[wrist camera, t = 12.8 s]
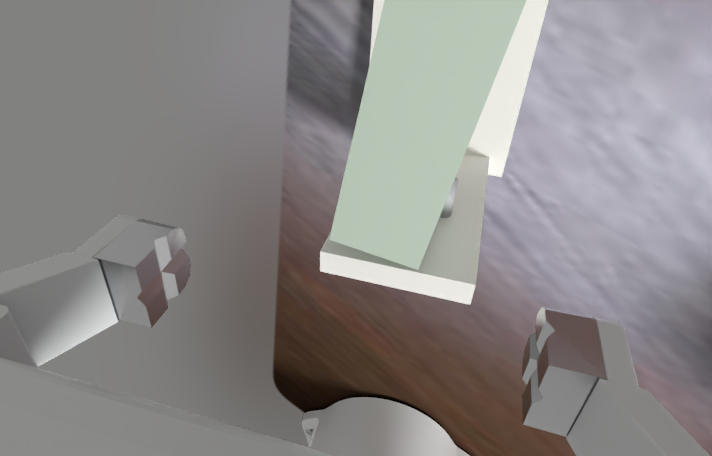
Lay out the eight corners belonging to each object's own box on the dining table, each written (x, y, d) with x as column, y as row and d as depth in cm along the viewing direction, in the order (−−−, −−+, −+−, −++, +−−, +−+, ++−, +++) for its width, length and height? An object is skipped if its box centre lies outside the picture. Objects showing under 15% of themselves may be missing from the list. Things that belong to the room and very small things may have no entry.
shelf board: (429, -92, 18) (403, -81, 14) (537, -62, 17) (543, -41, 13) (359, 181, 25) (329, 239, 21) (434, 207, 25) (418, 270, 21)
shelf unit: (502, 169, 32) (493, 309, 22) (367, 146, 33) (299, 266, 23) (583, -140, 22) (635, -148, 12) (388, -152, 24) (290, -168, 14)
